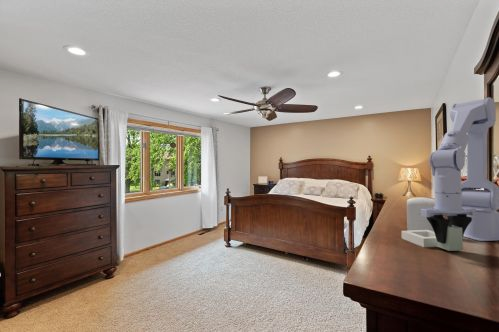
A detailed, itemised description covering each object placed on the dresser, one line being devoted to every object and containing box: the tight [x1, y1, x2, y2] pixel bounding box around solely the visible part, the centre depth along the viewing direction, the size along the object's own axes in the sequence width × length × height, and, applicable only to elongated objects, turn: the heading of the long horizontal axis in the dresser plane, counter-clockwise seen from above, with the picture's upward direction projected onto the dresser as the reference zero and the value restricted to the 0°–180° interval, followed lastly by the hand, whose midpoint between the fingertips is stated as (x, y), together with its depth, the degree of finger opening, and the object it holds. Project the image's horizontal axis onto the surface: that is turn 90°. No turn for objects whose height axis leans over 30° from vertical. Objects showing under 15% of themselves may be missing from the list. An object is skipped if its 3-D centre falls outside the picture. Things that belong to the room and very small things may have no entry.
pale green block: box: [436, 223, 464, 252], centre depth 67 cm, size 4×4×7 cm
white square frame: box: [401, 230, 438, 248], centre depth 75 cm, size 9×9×2 cm
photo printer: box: [406, 196, 435, 232], centre depth 86 cm, size 10×4×12 cm, turn 39°
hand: (449, 242), depth 67 cm, fingers closed on pale green block, 4 cm apart
